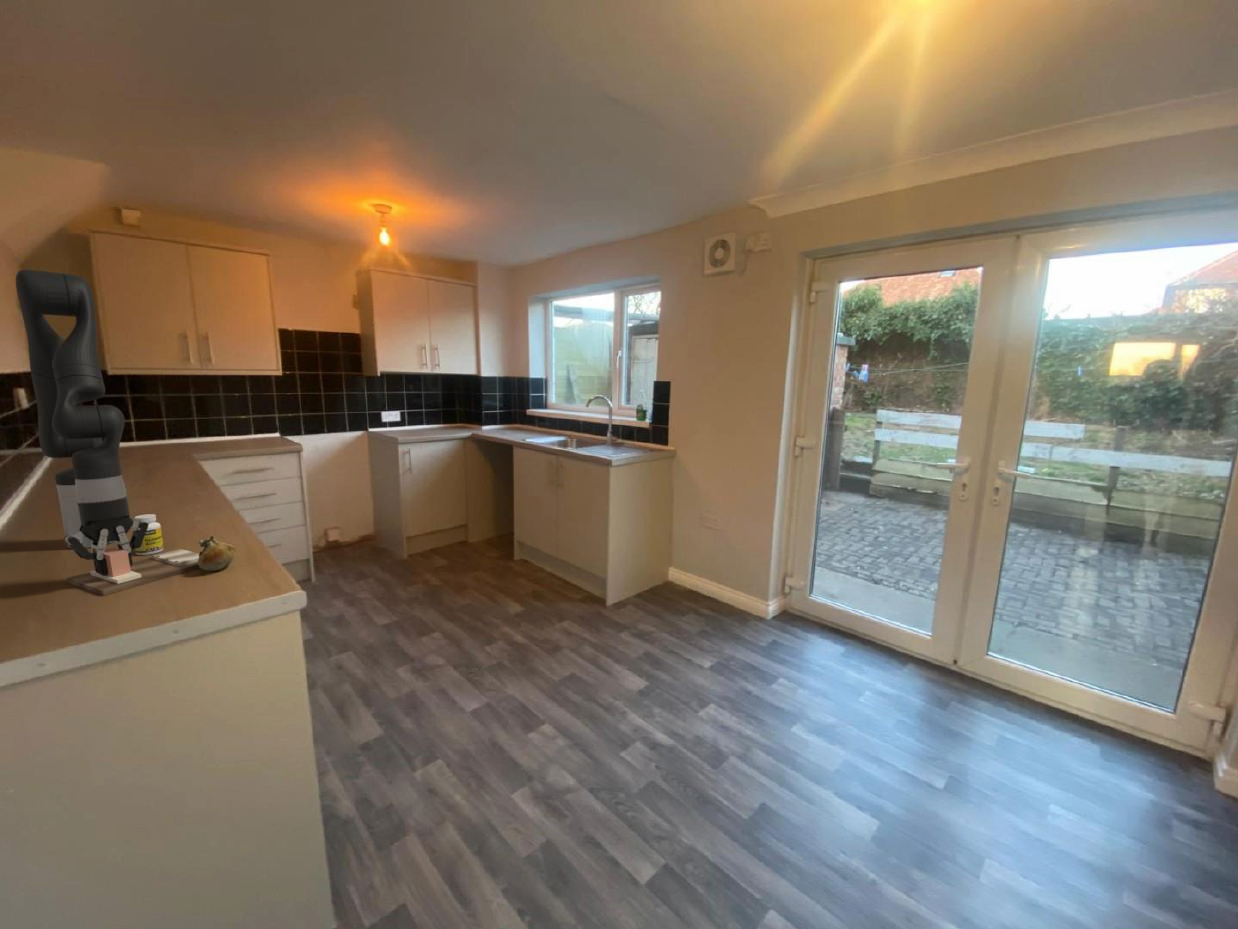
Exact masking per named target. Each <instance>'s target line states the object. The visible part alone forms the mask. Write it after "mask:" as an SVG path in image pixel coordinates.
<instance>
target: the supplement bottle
mask: <svg viewBox="0 0 1238 929" xmlns="http://www.w3.org/2000/svg"><path fill="white" fill-rule="evenodd" d="M134 521H135V522H139V521H142V522H146V523H148V524H149V525H148V528H147V531H146V534H145V536H144V539H143V542H142V544H141V547H140V548H136V549H134V551H135V555H137V556H148V555H156V554H157V553H158V554H159V553H161V552H162V551H164V548H165V547H164V540H163V533H162V526H161V524H160V523H159V522H158V521H157V516H156V514H152V513H151V514H150V513H148V514H147V513H146V514H140V515H136V516H135V517H134ZM156 521H157V522H156ZM131 530H132V532H131V533H133V532H134V530H133V529H132V528H131Z"/></svg>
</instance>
